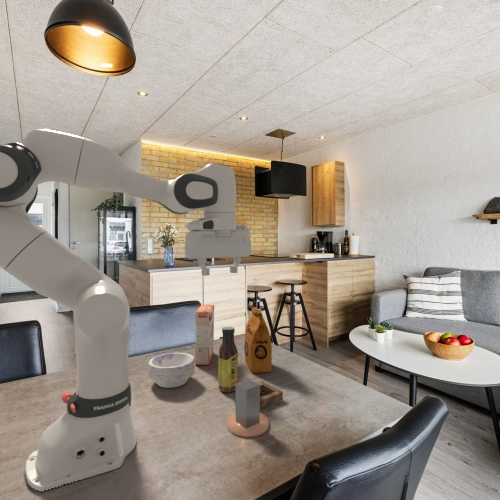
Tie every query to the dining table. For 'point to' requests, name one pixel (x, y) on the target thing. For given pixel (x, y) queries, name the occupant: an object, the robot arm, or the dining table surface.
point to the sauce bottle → (228, 361)
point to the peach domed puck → (249, 432)
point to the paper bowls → (171, 369)
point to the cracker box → (204, 335)
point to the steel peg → (247, 403)
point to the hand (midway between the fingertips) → (220, 274)
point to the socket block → (269, 395)
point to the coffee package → (258, 344)
